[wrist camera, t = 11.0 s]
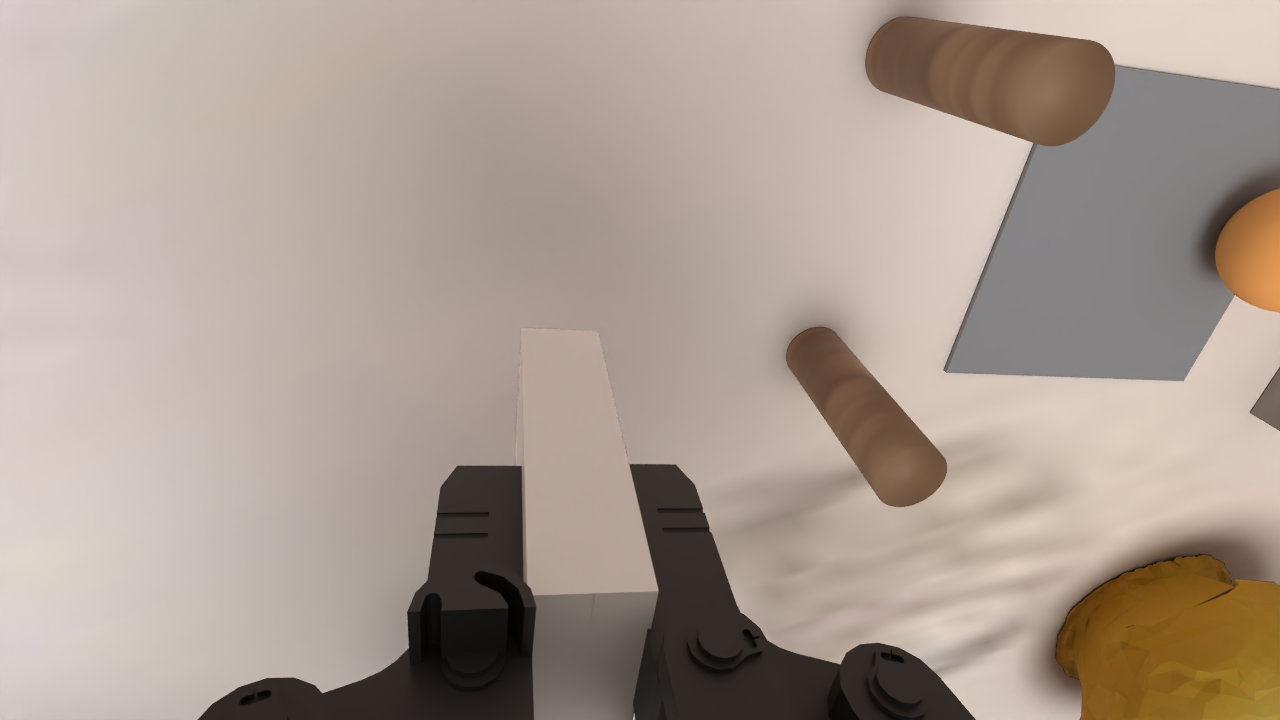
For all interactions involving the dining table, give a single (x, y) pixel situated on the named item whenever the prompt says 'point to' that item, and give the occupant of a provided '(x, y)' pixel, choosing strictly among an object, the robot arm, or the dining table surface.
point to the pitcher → (1176, 645)
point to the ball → (1253, 252)
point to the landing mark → (1123, 235)
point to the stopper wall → (1270, 403)
